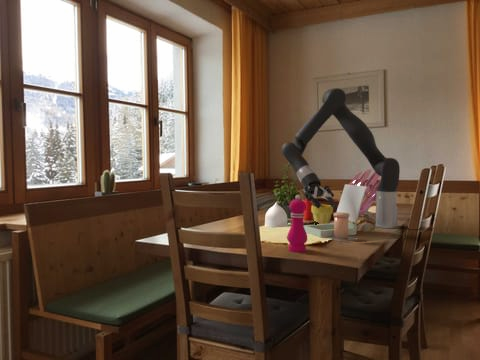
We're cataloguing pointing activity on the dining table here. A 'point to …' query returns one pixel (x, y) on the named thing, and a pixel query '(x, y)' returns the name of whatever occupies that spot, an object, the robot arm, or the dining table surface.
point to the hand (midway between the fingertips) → (326, 206)
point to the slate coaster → (342, 239)
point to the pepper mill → (297, 226)
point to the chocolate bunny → (368, 222)
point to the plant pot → (322, 213)
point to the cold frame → (347, 204)
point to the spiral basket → (367, 189)
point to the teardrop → (276, 217)
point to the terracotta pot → (341, 225)
